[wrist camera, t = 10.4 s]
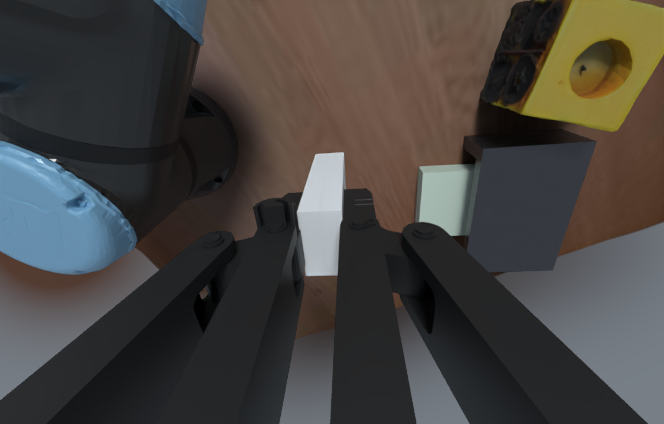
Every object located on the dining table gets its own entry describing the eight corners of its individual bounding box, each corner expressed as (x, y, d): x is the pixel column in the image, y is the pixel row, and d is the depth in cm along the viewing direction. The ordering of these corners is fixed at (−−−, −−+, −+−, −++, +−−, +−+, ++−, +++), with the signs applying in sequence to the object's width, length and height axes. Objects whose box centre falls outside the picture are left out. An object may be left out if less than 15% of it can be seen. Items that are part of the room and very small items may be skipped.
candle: (512, 2, 31) (577, -20, 23) (602, 19, 32) (699, 5, 23) (475, 100, 36) (516, 114, 27) (553, 115, 37) (618, 133, 28)
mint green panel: (414, 226, 46) (418, 236, 43) (418, 165, 41) (422, 173, 38) (507, 222, 45) (517, 233, 42) (522, 160, 40) (534, 167, 37)
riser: (450, 248, 47) (463, 273, 41) (464, 136, 38) (483, 148, 33) (529, 245, 46) (552, 270, 40) (561, 129, 37) (596, 141, 32)
